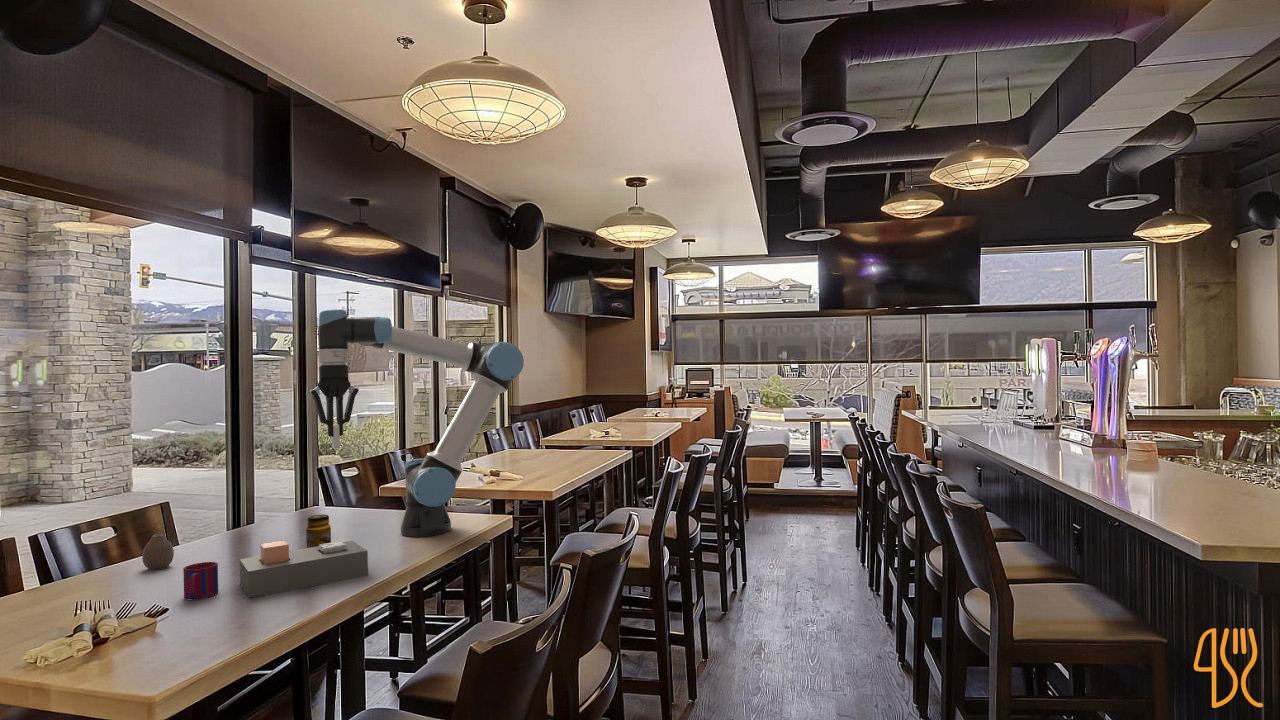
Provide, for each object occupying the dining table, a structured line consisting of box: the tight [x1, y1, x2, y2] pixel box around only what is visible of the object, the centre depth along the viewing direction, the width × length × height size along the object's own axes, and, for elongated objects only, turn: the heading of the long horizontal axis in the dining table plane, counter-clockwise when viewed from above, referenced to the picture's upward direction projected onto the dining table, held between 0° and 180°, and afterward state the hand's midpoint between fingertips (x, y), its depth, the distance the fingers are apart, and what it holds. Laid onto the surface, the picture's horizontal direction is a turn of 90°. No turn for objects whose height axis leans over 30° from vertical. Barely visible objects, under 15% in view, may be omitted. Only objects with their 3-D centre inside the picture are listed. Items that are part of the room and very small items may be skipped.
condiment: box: [305, 514, 332, 548], centre depth 188 cm, size 7×8×12 cm
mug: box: [182, 561, 219, 601], centre depth 159 cm, size 7×10×7 cm
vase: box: [141, 533, 175, 571], centre depth 186 cm, size 7×7×9 cm
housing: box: [239, 540, 369, 599], centre depth 170 cm, size 26×14×6 cm, turn 127°
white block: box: [319, 540, 346, 554], centre depth 174 cm, size 5×5×6 cm
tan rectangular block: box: [259, 540, 290, 565], centre depth 167 cm, size 5×5×6 cm
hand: (335, 448), depth 196 cm, fingers closed
